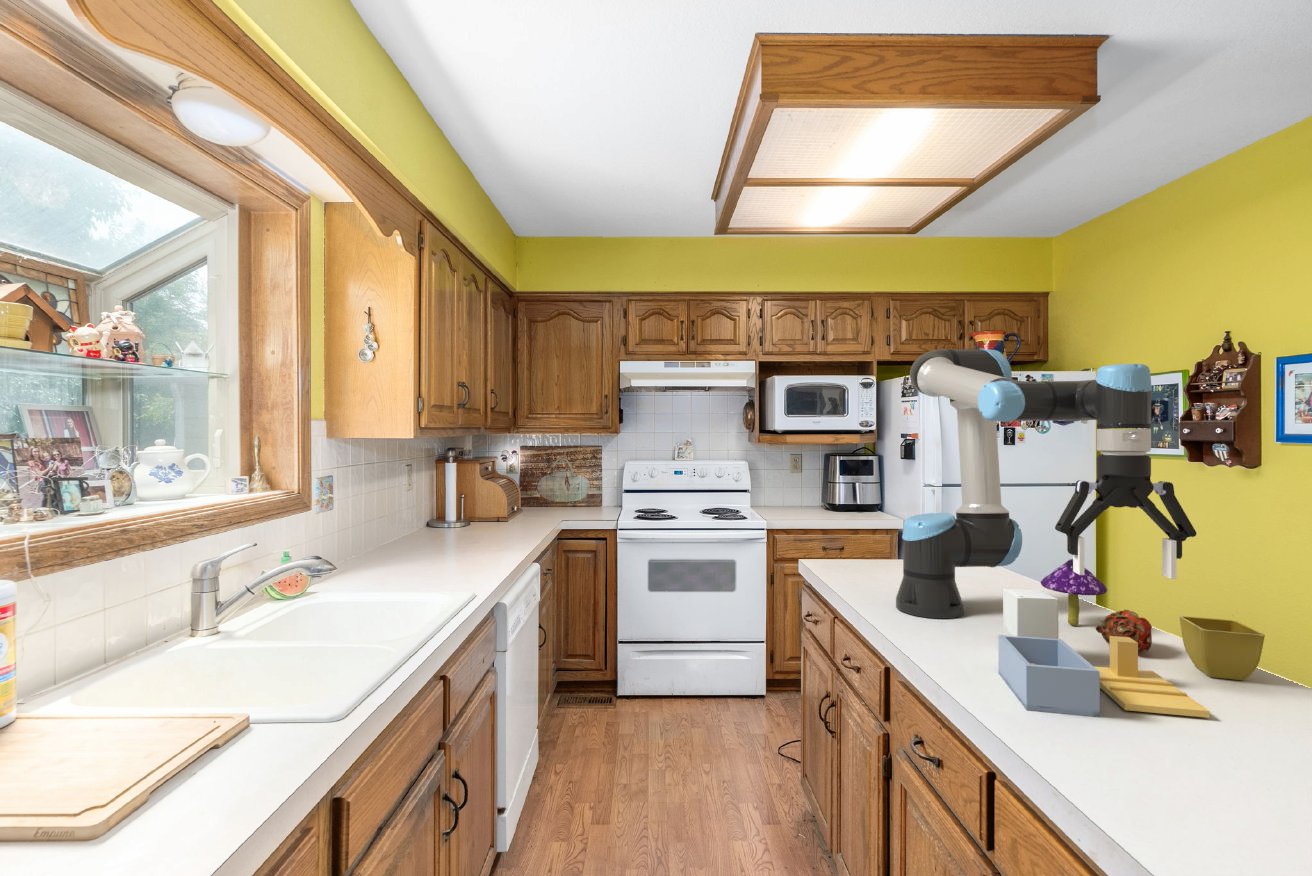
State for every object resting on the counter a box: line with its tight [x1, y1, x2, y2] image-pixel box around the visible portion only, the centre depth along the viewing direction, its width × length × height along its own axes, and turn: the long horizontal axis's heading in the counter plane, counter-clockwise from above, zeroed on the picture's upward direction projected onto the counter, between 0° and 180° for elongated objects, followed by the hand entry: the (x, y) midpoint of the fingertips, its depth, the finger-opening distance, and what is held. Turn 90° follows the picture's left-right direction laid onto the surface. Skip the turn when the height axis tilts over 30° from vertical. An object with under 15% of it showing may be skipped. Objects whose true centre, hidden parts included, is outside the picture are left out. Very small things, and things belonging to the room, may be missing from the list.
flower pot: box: [1179, 615, 1266, 681], centre depth 109 cm, size 9×9×9 cm
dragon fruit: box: [1095, 609, 1153, 652], centre depth 122 cm, size 8×8×12 cm
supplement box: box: [1002, 588, 1060, 639], centre depth 118 cm, size 7×7×13 cm
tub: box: [997, 634, 1101, 718], centre depth 102 cm, size 15×10×7 cm, turn 165°
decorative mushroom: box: [1040, 558, 1108, 627], centre depth 137 cm, size 12×12×15 cm
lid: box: [1094, 636, 1211, 719], centre depth 101 cm, size 16×11×8 cm
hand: (1123, 575), depth 106 cm, fingers open, 13 cm apart
